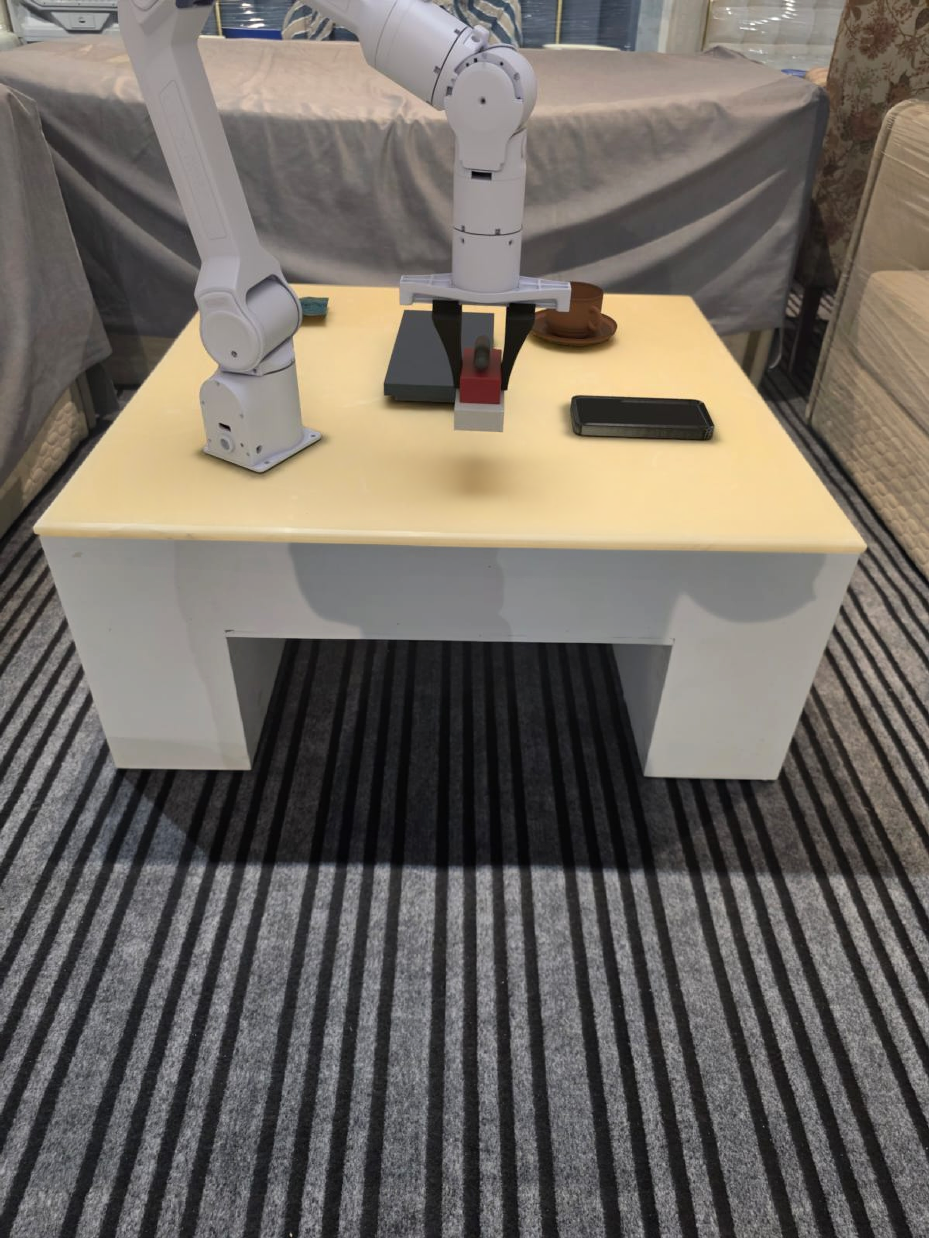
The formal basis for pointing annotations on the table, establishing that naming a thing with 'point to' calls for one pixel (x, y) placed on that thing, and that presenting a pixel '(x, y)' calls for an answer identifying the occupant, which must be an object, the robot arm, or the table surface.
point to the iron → (480, 389)
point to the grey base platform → (429, 356)
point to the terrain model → (314, 305)
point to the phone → (641, 417)
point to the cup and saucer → (576, 319)
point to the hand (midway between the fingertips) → (481, 385)
